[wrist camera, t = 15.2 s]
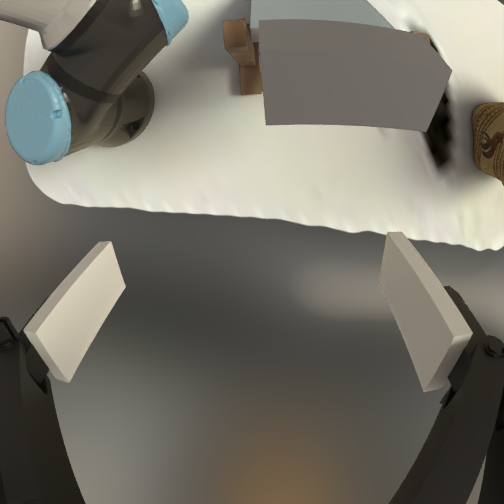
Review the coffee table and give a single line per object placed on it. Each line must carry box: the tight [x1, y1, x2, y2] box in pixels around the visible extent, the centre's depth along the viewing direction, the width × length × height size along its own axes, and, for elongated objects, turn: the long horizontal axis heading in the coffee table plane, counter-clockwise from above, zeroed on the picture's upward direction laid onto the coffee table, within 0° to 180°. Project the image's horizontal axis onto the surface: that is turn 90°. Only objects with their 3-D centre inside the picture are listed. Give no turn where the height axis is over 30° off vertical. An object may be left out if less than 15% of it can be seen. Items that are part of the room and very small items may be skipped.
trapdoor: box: [250, 0, 452, 132], centre depth 24 cm, size 16×33×7 cm
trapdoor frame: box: [223, 19, 430, 95], centre depth 29 cm, size 22×12×20 cm, turn 94°
